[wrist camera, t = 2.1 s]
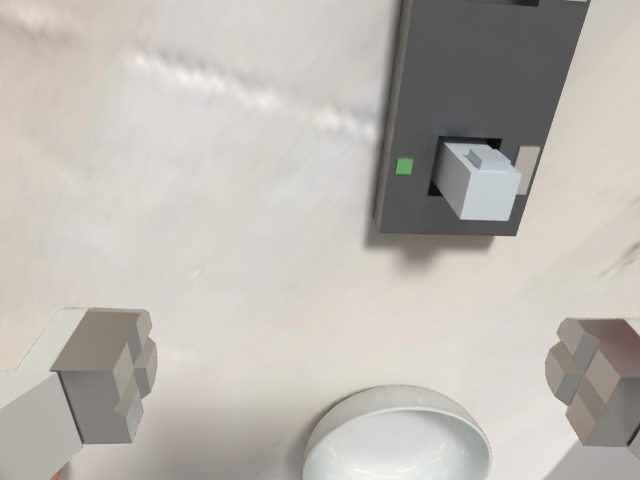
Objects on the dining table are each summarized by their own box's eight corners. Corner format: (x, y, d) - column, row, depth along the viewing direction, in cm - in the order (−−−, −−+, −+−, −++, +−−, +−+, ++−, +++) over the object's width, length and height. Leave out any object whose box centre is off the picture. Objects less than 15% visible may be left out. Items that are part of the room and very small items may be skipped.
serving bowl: (491, 360, 51) (517, 411, 45) (449, 474, 62) (466, 527, 56) (306, 356, 49) (308, 409, 43) (295, 474, 60) (295, 530, 54)
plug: (469, 177, 39) (508, 220, 32) (429, 176, 39) (460, 219, 32) (481, 129, 37) (525, 164, 30) (439, 127, 37) (473, 162, 30)
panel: (501, 220, 42) (516, 237, 39) (373, 216, 41) (379, 233, 38) (608, -142, 29) (642, -155, 26) (424, -160, 28) (439, -175, 25)
